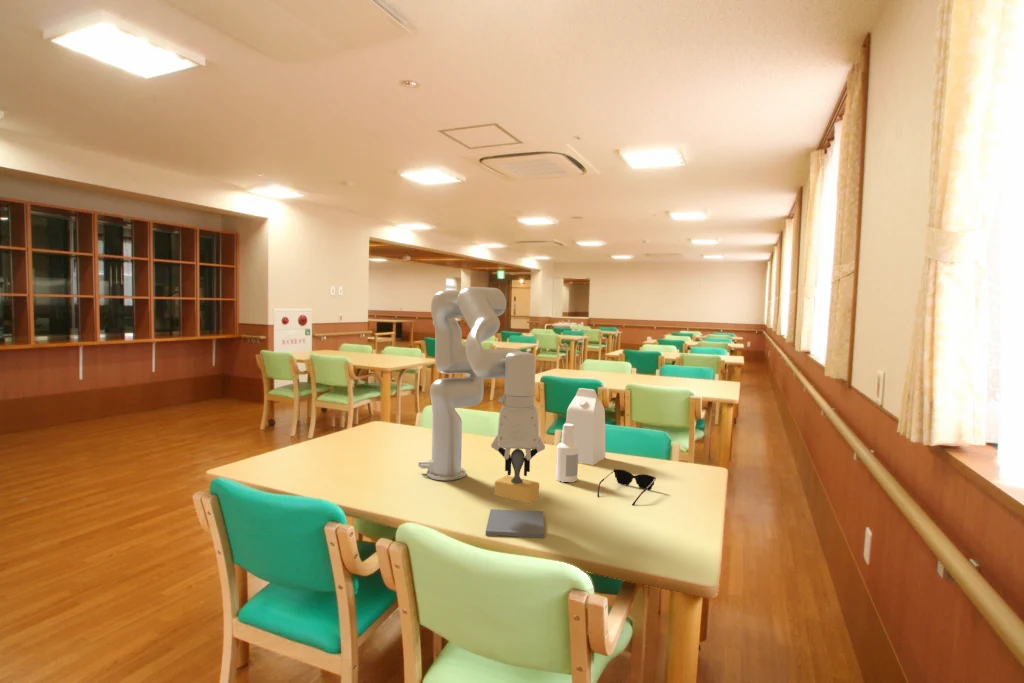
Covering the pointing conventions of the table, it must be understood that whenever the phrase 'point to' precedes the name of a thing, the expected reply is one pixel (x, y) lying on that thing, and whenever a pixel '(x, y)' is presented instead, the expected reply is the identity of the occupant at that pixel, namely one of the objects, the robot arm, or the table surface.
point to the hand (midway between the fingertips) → (517, 473)
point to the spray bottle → (567, 456)
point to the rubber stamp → (517, 482)
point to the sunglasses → (627, 477)
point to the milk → (588, 425)
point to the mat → (515, 523)
